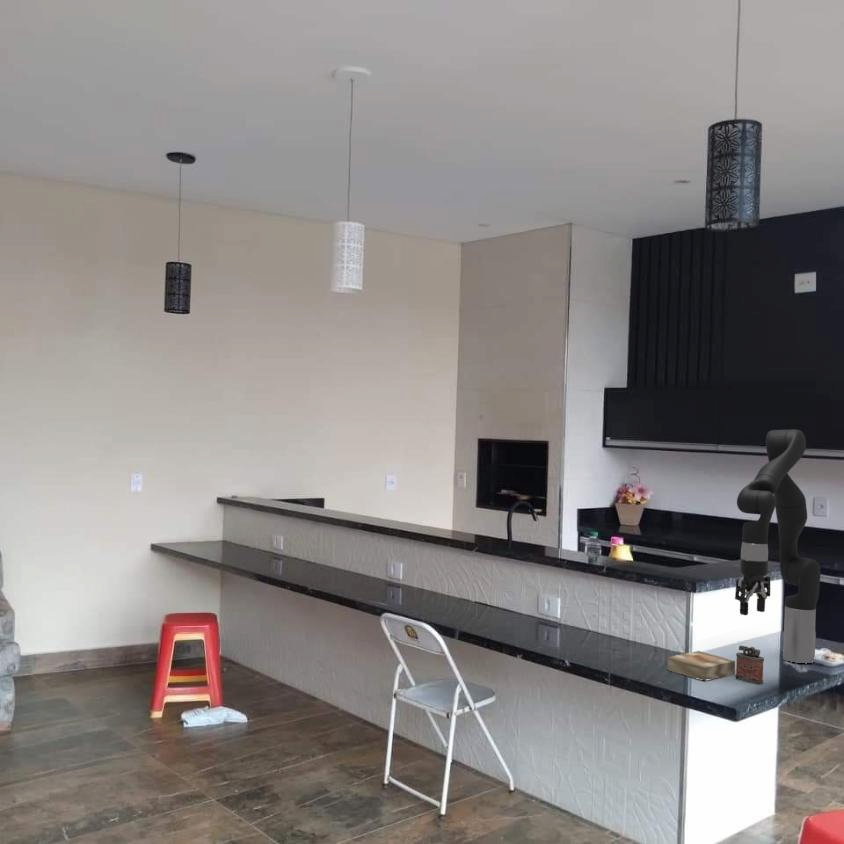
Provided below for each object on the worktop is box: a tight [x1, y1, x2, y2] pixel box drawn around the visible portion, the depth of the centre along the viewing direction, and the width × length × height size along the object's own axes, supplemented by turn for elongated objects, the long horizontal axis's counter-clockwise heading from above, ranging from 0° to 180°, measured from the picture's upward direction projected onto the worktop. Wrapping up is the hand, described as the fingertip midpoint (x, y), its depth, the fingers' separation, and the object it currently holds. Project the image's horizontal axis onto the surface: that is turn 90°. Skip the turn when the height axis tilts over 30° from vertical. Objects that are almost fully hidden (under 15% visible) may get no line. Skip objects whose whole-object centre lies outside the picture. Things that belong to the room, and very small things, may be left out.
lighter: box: [734, 644, 765, 685], centre depth 262 cm, size 8×3×10 cm, turn 48°
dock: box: [667, 650, 736, 680], centre depth 270 cm, size 15×13×4 cm
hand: (752, 613), depth 262 cm, fingers open, 8 cm apart
